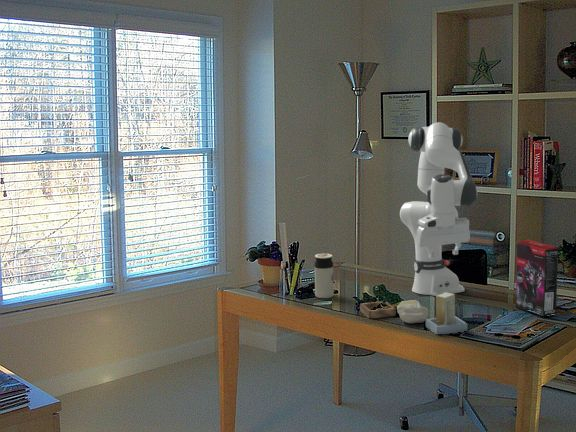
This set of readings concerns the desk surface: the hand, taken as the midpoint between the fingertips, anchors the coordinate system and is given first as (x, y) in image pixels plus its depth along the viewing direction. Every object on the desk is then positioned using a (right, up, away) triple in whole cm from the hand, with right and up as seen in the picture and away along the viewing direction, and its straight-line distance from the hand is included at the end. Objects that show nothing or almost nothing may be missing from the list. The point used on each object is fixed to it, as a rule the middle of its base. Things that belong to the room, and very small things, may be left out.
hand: (443, 255), depth 291 cm
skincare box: (0, -26, -1) cm, 26 cm away
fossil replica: (-10, -26, +9) cm, 29 cm away
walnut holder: (-22, -24, +21) cm, 39 cm away
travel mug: (-42, -20, +48) cm, 67 cm away
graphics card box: (+39, -23, +17) cm, 48 cm away
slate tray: (+1, -27, -1) cm, 27 cm away
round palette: (+24, -28, -7) cm, 37 cm away
